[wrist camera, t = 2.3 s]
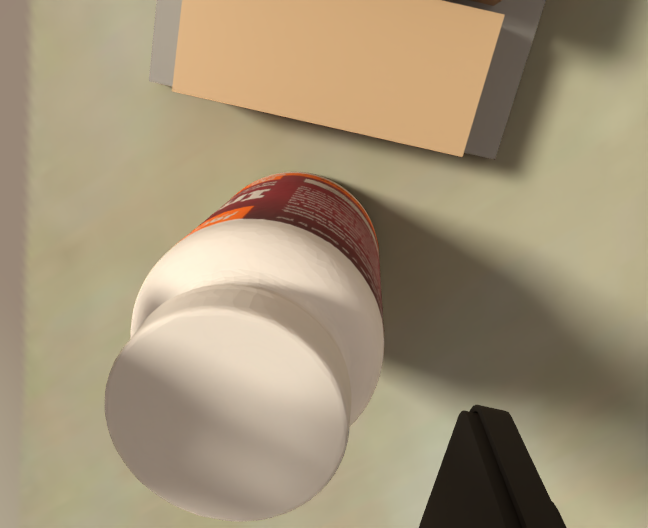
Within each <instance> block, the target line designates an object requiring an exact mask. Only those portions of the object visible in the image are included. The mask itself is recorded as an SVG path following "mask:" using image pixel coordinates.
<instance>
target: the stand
mask: <svg viewBox="0 0 648 528" xmlns="http://www.w3.org/2000/svg"><path fill="white" fill-rule="evenodd" d="M545 1H546V0H157V4H156V14H155V25H154V35H153V45H152V55H151V65H150V75H149V81H150V82H155V83H159V84H164V85H168V86H172V91H173V92H178V93H182V94H186V95H191V96H195V97H200V98H204V99H209V100H213V101H217V102H222V103H226V104H231V105H235V106H239V107H244V108H248V109H253V110H257V111H261V112H266V113H270V114H275V115H279V116H283V117H288V118H292V119H297V120H301V121H306V122H310V123H314V124H319V125H323V126H328V127H332V128H336V129H341V130H345V131H350V132H354V133H358V134H363V135H367V136H372V137H376V138H381V139H385V140H389V141H394V142H398V143H403V144H407V145H411V146H416V147H420V148H425V149H429V150H433V151H438V152H442V153H447V154H451V155H455V156H460V157H463V153H468V154H472V155H477V156H481V157H486V158H490V159H494V160H495V158H496V155H497V152H498V149H499V146H500V143H501V140H502V136H503V133H504V130H505V127H506V124H507V121H508V118H509V114H510V111H511V108H512V105H513V102H514V99H515V96H516V92H517V89H518V86H519V83H520V80H521V77H522V74H523V70H524V67H525V64H526V61H527V58H528V55H529V52H530V48H531V45H532V42H533V39H534V36H535V33H536V30H537V26H538V23H539V20H540V17H541V14H542V11H543V8H544V5H545Z"/></svg>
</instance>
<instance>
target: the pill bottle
mask: <svg viewBox="0 0 648 528" xmlns="http://www.w3.org/2000/svg"><path fill="white" fill-rule="evenodd" d="M383 354H384V326H383V308H382V296H381V281H380V263H379V247H378V241H377V237H376V233H375V230H374V227H373V224H372V222H371V220H370V218H369V216H368V214H367V212H366V211H365V209H364V208H363V206H362V205H361V204H360V202H359V201H358V200H357V199H356V198H355V197H354V196H353V195H352V194H351V193H350V192H348V191H347V190H346V189H345V188H343V187H342V186H340V185H339V184H337V183H335V182H334V181H332V180H329V179H327V178H325V177H322V176H319V175H316V174H311V173H305V172H282V173H277V174H272V175H269V176H266V177H263V178H261V179H259V180H257V181H255V182H253V183H251V184H250V185H248V186H246V187H245V188H244V189H242V190H241V191H240V192H238V193H237V194H236V195H235V196H233V197H232V198H231V199H230V200H229V201H228V202H227V203H226V204H225V205H223V206H222V207H221V208H220V209H218V210H217V211H216V212H215V213H214V214H212V215H211V216H210V217H209V218H208V219H206V220H205V221H204V222H203V223H202V224H200V225H199V226H198V227H197V228H196V229H194V230H193V231H192V232H191V233H189V234H188V235H187V236H186V237H184V238H183V239H182V240H181V241H179V242H178V243H177V244H176V245H175V246H173V247H172V248H171V249H170V250H169V251H168V252H167V253H166V254H165V255H164V256H163V257H162V258H161V259H160V260H159V261H158V262H157V264H156V265H155V266H154V267H153V268H152V270H151V271H150V273H149V274H148V276H147V277H146V279H145V281H144V283H143V285H142V287H141V289H140V291H139V294H138V296H137V299H136V302H135V306H134V310H133V316H132V324H131V339H130V340H129V341H128V342H127V343H126V345H125V346H124V347H123V349H122V350H121V352H120V353H119V355H118V356H117V358H116V360H115V362H114V364H113V366H112V368H111V371H110V373H109V377H108V381H107V384H106V390H105V416H106V421H107V426H108V430H109V433H110V436H111V439H112V442H113V444H114V446H115V448H116V450H117V452H118V454H119V455H120V457H121V458H122V460H123V462H124V463H125V464H126V466H127V467H128V468H129V469H130V471H131V472H132V473H133V474H134V475H135V477H136V478H137V479H138V480H139V481H140V482H142V483H143V484H144V485H145V486H146V487H147V488H148V489H150V490H151V491H152V492H154V493H155V494H156V495H158V496H159V497H161V498H162V499H164V500H166V501H167V502H169V503H171V504H173V505H175V506H176V507H178V508H181V509H183V510H186V511H189V512H191V513H194V514H197V515H199V516H204V517H209V518H214V519H219V520H227V521H254V520H262V519H267V518H272V517H275V516H278V515H281V514H285V513H287V512H290V511H292V510H294V509H296V508H298V507H299V506H301V505H303V504H305V503H306V502H308V501H309V500H311V499H312V498H313V497H314V496H316V495H317V494H318V493H319V492H320V491H321V490H322V489H323V488H324V487H325V486H326V485H327V484H328V483H329V481H330V480H331V478H332V477H333V475H334V474H335V472H336V471H337V469H338V467H339V465H340V463H341V461H342V458H343V456H344V453H345V450H346V446H347V442H348V436H349V427H350V426H351V425H352V424H353V423H354V422H355V421H356V420H357V418H358V417H359V416H360V415H361V413H362V412H363V411H364V409H365V408H366V406H367V404H368V403H369V401H370V399H371V397H372V395H373V393H374V390H375V388H376V386H377V383H378V380H379V376H380V373H381V368H382V363H383Z"/></svg>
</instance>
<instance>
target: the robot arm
mask: <svg viewBox="0 0 648 528" xmlns="http://www.w3.org/2000/svg"><path fill="white" fill-rule="evenodd" d="M419 528H566V526H565V524H564V522H563V519H562V517H561V515H560V513H559V511H558V509H557V508H556V506H555V505H554V503H553V502H552V501H551V499H550V497H549V495H548V493H547V491H546V489H545V487H544V484H543V482H542V480H541V478H540V476H539V474H538V472H537V470H536V468H535V465H534V463H533V461H532V459H531V457H530V455H529V453H528V451H527V449H526V446H525V444H524V442H523V440H522V438H521V436H520V434H519V432H518V430H517V428H516V425H515V423H514V421H513V419H512V417H511V415H510V414H509V412H507V411H503V410H499V409H494V408H489V407H484V406H480V405H475V406H473V407H472V408H471V410H470V412H468V411H462V412H461V413H460V414H459V417H458V419H457V422H456V425H455V427H454V430H453V433H452V436H451V439H450V441H449V444H448V447H447V450H446V453H445V455H444V458H443V461H442V464H441V467H440V469H439V472H438V475H437V478H436V481H435V483H434V486H433V489H432V492H431V495H430V497H429V500H428V503H427V506H426V509H425V511H424V514H423V517H422V520H421V523H420V526H419Z"/></svg>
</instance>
